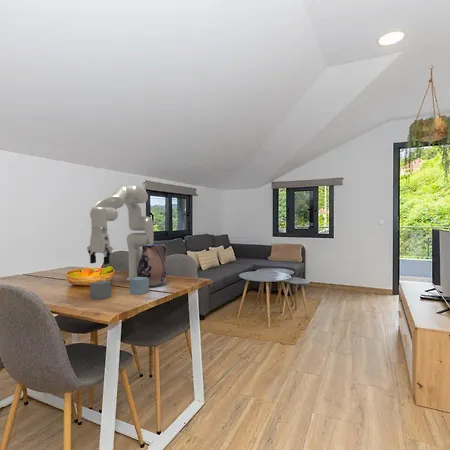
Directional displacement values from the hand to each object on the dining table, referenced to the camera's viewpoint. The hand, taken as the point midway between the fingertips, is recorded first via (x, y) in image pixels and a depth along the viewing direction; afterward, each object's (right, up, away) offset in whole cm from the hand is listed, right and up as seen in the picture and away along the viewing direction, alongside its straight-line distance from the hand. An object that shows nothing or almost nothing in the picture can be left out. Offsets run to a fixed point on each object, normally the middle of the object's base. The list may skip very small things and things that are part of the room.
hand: (99, 263), depth 161 cm
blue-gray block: (+18, -18, +10) cm, 27 cm away
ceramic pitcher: (+21, -17, +31) cm, 41 cm away
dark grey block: (0, -18, +1) cm, 18 cm away
